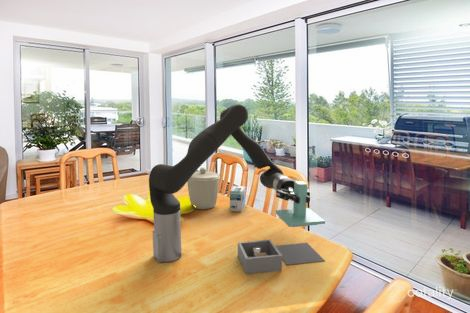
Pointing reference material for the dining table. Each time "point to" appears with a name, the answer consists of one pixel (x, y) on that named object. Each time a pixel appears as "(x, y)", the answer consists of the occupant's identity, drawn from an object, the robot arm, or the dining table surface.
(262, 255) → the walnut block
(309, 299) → the dining table surface
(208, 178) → the canister
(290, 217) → the lid
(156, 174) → the robot arm
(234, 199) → the light bulb box
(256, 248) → the metal spool
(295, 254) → the mat
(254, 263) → the tub
